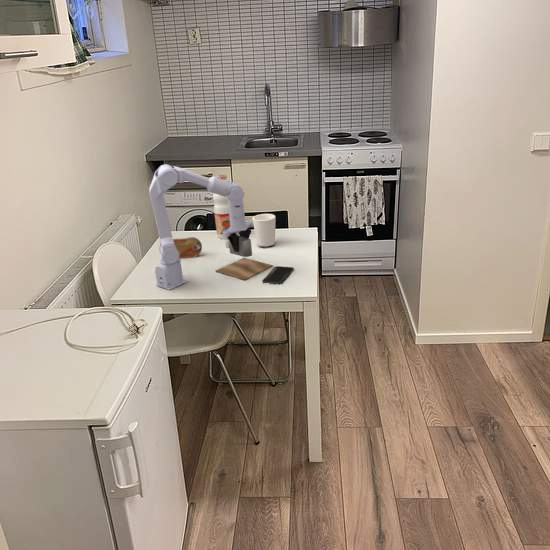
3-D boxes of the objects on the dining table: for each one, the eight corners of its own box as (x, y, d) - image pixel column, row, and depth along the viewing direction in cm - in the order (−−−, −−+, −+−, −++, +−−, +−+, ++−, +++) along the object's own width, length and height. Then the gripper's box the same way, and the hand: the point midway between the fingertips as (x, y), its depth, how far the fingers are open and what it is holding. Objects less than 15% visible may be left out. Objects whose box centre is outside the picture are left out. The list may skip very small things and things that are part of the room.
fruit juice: (227, 231, 267) (220, 173, 256) (241, 234, 261) (235, 174, 250) (213, 237, 260) (205, 177, 249) (227, 241, 254) (220, 179, 244)
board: (244, 280, 211) (244, 279, 211) (215, 272, 221) (215, 270, 221) (273, 266, 222) (273, 265, 222) (244, 259, 232) (243, 257, 232)
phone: (261, 281, 208) (275, 266, 220) (261, 284, 208) (276, 268, 221) (281, 283, 205) (294, 267, 218) (281, 285, 205) (295, 270, 218)
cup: (261, 240, 252) (259, 213, 247) (281, 242, 247) (279, 214, 242) (250, 248, 244) (248, 219, 239) (271, 250, 239) (268, 221, 234)
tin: (167, 259, 238) (164, 240, 235) (168, 257, 241) (165, 238, 238) (202, 256, 238) (200, 238, 235) (203, 254, 241) (201, 235, 238)
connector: (247, 257, 214) (245, 242, 211) (225, 252, 221) (223, 237, 219) (254, 254, 216) (252, 239, 214) (232, 248, 224) (230, 234, 222)
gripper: (230, 222, 205) (234, 257, 210) (257, 211, 215) (260, 245, 220) (217, 219, 209) (221, 254, 215) (244, 209, 219) (247, 242, 224)
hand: (240, 249), depth 218 cm, fingers closed on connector, 4 cm apart
